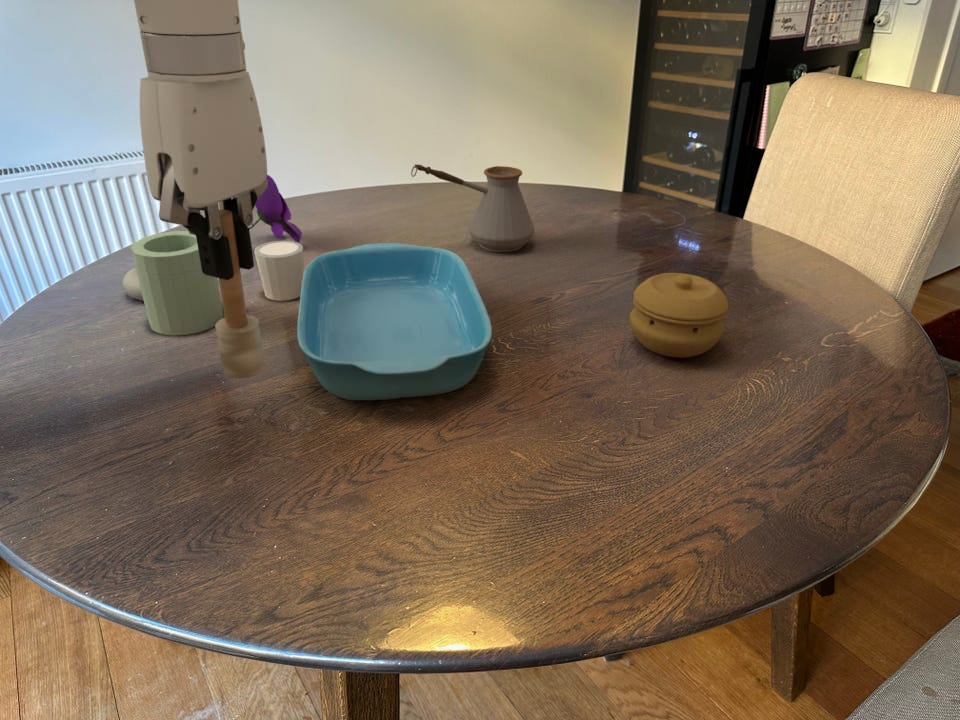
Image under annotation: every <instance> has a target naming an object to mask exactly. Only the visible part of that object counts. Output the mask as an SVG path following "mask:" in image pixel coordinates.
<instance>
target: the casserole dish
mask: <svg viewBox="0 0 960 720" xmlns="http://www.w3.org/2000/svg"><path fill="white" fill-rule="evenodd" d="M296 324H297V325H296V326H297V327H296V328H297V329H296V334H297V342H298V346H299V348H300V350H301V351H302V353H303V354H304V357H305V359H306V361H307V363H308V365H309V367H310V369H311V370H312V372H313V374H314V376H315V377H316V379H317V381H318V382H319V383H320V385H321V386H322V387H323V388H324V389H325V390H326V391H327V392H329V393H330V394H333V395H334V396H336V397H339V398H341V399H344V400H348V401H360V402H361V401H385V400H386V401H388V400H398V399H401V398H405V399H407V398H418V397H419V398H420V397H428V396H436V395H442V394H447V393H451V392H453V391H456V390H458V389H461V388H463V387H465V385H467V384H468V383H470V382H471V381H472V380H473V378H474V377H475V376H476V374H477V372H478V370H479V369H480V366H481V364H482V361H483V359H484V357H485V354H486V352H487V350H488V347H489V345H490V343H491V340H492V337H493V326H492V322H491V319H490V315H489V313H488V310H487V307H486V305H485V302H484V300H483V299H482V296H481V294H480V292H479V289H478V287H477V285H476V282H475V280H474V278H473V276H472V273H471V271H470V270H469V268H468V266H467V264H466V263H465V261H464V260H463V259H462V258H461V257H460V256H459V255H458V254H456V253H455V252H454V251H451V250H448V249H445V248H441V247H434V246H433V247H431V246H423V245H422V246H421V245H414V244H408V243H400V242H378V243H367V244H360V245H356V246H353V247H350V248H346V249H345V248H344V249H340V250H338V249H337V250H333V251H328V252H325V253H323V254H320V255H318V256H316V257H314V258H313V259H311V261H310V262H309V263H307V265H306V267H305V269H304V275H303V280H302V287H301V296H300V297H299V307H298V313H297V323H296Z"/></svg>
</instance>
